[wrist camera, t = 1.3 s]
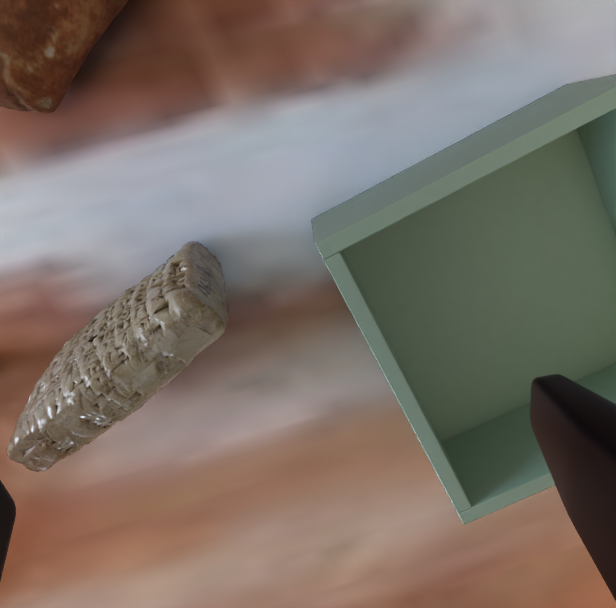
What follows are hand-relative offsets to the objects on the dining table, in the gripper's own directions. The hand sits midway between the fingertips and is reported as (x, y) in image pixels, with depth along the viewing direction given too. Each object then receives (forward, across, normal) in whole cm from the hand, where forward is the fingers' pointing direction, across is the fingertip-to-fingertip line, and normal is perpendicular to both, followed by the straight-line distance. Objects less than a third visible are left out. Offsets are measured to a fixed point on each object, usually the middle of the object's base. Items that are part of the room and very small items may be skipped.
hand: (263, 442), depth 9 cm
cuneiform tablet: (+14, +8, +5) cm, 17 cm away
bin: (+13, -9, +6) cm, 17 cm away
